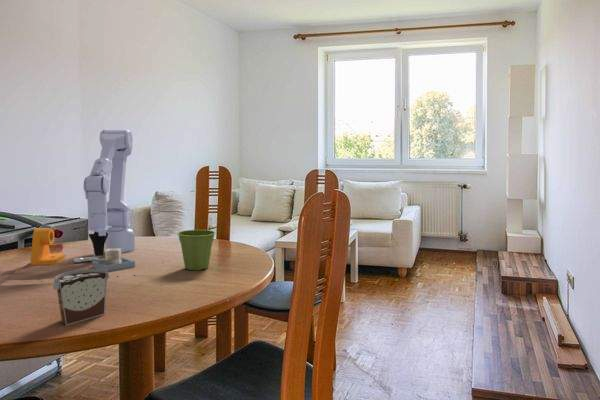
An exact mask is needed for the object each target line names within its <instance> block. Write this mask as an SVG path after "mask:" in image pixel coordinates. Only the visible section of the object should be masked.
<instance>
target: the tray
mask: <svg viewBox="0 0 600 400" xmlns="http://www.w3.org/2000/svg"><path fill="white" fill-rule="evenodd" d="M121 259H122V263H118V264H111V265H105V259H101V260H94V261H91V263H92V264H91V267H92V268H93V269H105V270H107V272H108V273H110V272H113V271H119V270H125V269H131V268H136V261H135V260H132V259H129V258H126V257H122V256H121Z"/></svg>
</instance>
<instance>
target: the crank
mask: <svg viewBox="0 0 600 400" xmlns="http://www.w3.org/2000/svg"><path fill="white" fill-rule="evenodd" d="M100 258H103V256H95V253H94V252H93V256H88V257H87V256H86V257H74V258H72V262H73V263H74V264H76V263H77V264H79V263H83V262H92V261H91V260H94V261H97V260H99V259H100Z"/></svg>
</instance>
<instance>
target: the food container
mask: <svg viewBox="0 0 600 400" xmlns="http://www.w3.org/2000/svg"><path fill="white" fill-rule="evenodd" d="M108 279H110V274H109V272H107V270H105V269H96V268H84V269H76V270H75V269H74V270H70V271H65V272H62V273H58V274H57V275H56V276H55V278H54V281H53V287H52V288H53V289H54V290H55V291H56V292H57V298H58V305H59V312H60V318H61V324H62V325H63V326H65V327H66V326H71V325H73V324H77V323H81V322H84V321H87V320H88V321H89V320H91V319H95V318H97V317H100V316H104V315H106V304H107V303H106V302H107V301H106V299H107V284H108V283H107V280H108Z"/></svg>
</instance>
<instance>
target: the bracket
mask: <svg viewBox="0 0 600 400" xmlns="http://www.w3.org/2000/svg"><path fill="white" fill-rule="evenodd" d="M54 242H55V230H54V229H53V228H52V227H42V228H41V227H38V228H37V227H36V228H34V229H33V232H32V242H31V250H30V251H31V254H30V266H43V265H44V266H46V265H57V264H58V263H60V262H61V261H63V260H65V259H66V258H67V257H66V256H67V255H66V253H51V250H50V246H52V245H53V244H54Z"/></svg>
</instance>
